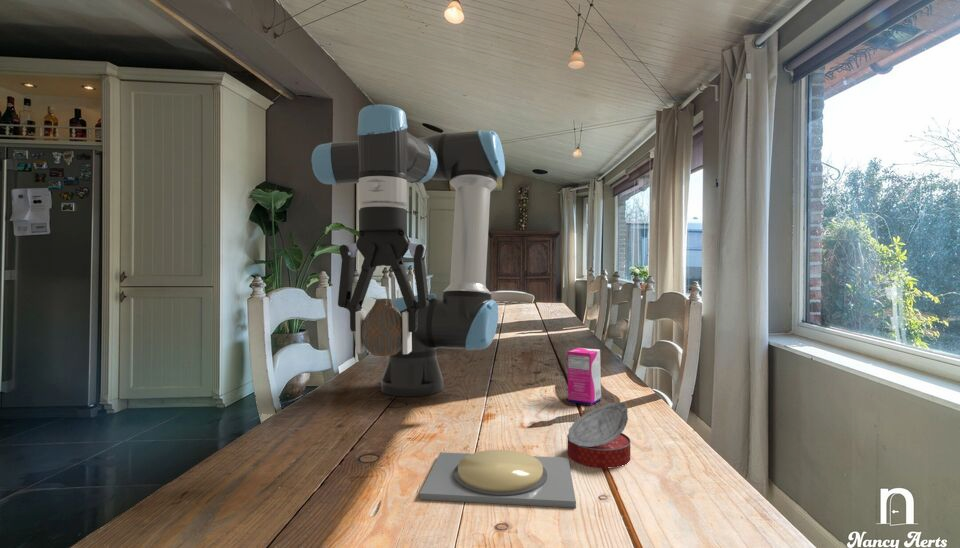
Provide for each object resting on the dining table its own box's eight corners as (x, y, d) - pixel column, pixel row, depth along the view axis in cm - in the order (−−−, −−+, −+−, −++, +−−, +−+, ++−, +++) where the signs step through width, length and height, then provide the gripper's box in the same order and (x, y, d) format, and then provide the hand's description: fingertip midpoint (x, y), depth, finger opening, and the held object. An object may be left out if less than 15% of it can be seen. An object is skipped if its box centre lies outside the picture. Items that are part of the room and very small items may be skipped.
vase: (396, 358, 74) (396, 301, 74) (354, 357, 75) (353, 300, 75) (412, 350, 81) (411, 297, 80) (373, 349, 82) (372, 297, 82)
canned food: (625, 497, 74) (630, 451, 69) (560, 479, 78) (560, 435, 73) (633, 440, 83) (638, 397, 78) (574, 427, 87) (575, 385, 82)
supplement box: (577, 395, 114) (577, 347, 114) (601, 400, 110) (602, 349, 110) (566, 401, 109) (566, 350, 109) (591, 406, 106) (591, 353, 105)
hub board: (440, 457, 77) (440, 444, 77) (568, 462, 75) (568, 450, 75) (419, 499, 63) (419, 484, 63) (575, 507, 61) (575, 491, 61)
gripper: (312, 205, 75) (314, 355, 75) (440, 203, 72) (440, 357, 73) (332, 210, 82) (334, 347, 83) (448, 209, 80) (449, 349, 80)
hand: (384, 351), depth 78 cm, fingers closed on vase, 7 cm apart
